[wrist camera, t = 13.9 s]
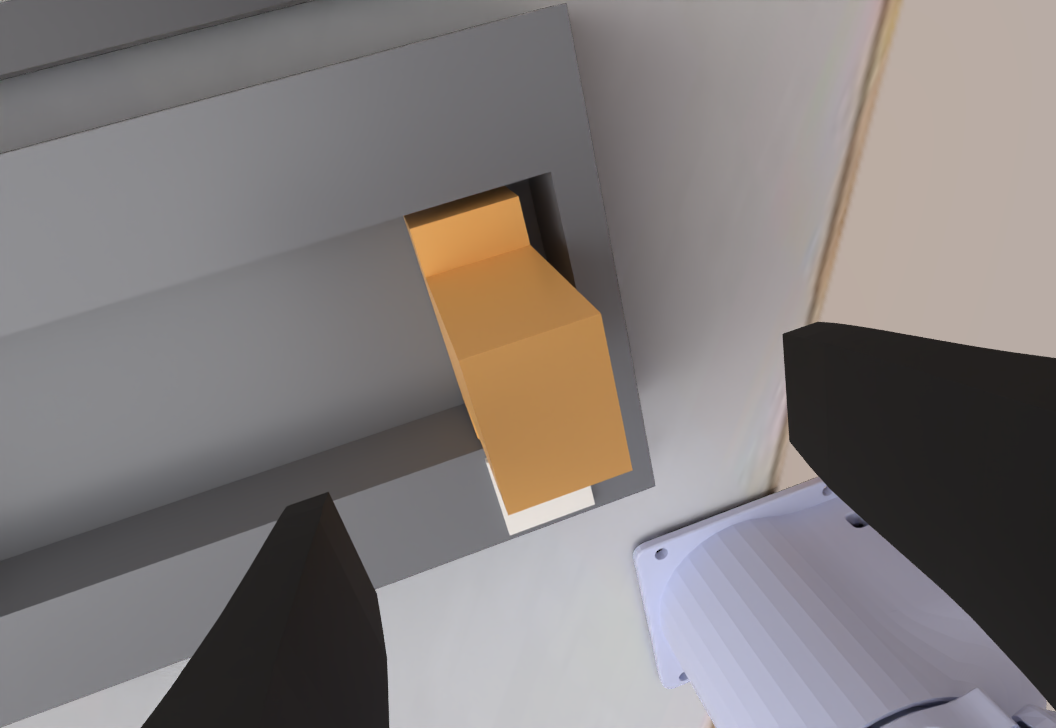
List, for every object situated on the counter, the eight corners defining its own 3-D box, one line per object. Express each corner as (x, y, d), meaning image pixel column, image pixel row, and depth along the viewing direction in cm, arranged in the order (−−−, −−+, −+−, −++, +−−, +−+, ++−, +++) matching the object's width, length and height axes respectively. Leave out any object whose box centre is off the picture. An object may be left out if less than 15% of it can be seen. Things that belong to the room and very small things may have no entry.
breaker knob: (495, 178, 16) (587, 249, 10) (543, 368, 19) (641, 515, 13) (400, 206, 16) (438, 296, 10) (462, 395, 19) (522, 560, 12)
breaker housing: (506, -110, 16) (566, -171, 12) (625, 467, 24) (687, 553, 20) (-500, 134, 13) (-881, 168, 9) (8, 691, 21) (-73, 845, 17)
